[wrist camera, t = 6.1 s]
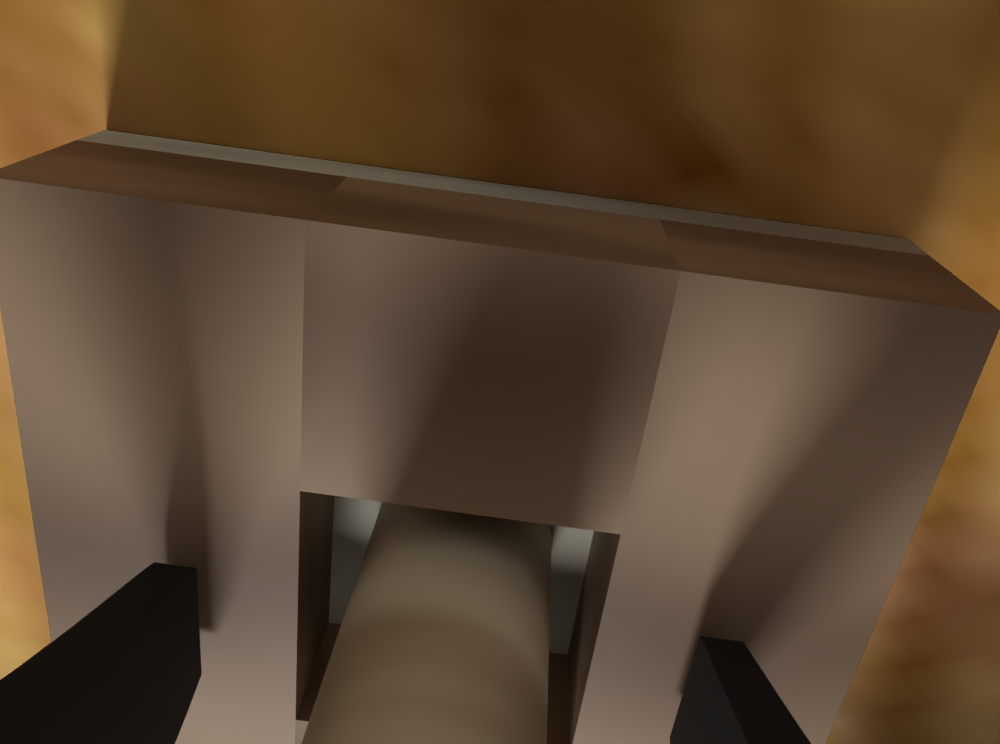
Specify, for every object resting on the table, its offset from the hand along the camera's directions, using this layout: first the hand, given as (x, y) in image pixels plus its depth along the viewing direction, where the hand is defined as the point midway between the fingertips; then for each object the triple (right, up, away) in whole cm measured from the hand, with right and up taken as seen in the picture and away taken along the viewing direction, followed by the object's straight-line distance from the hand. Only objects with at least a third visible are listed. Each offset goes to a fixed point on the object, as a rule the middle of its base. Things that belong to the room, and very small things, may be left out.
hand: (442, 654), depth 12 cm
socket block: (0, +2, +3) cm, 3 cm away
